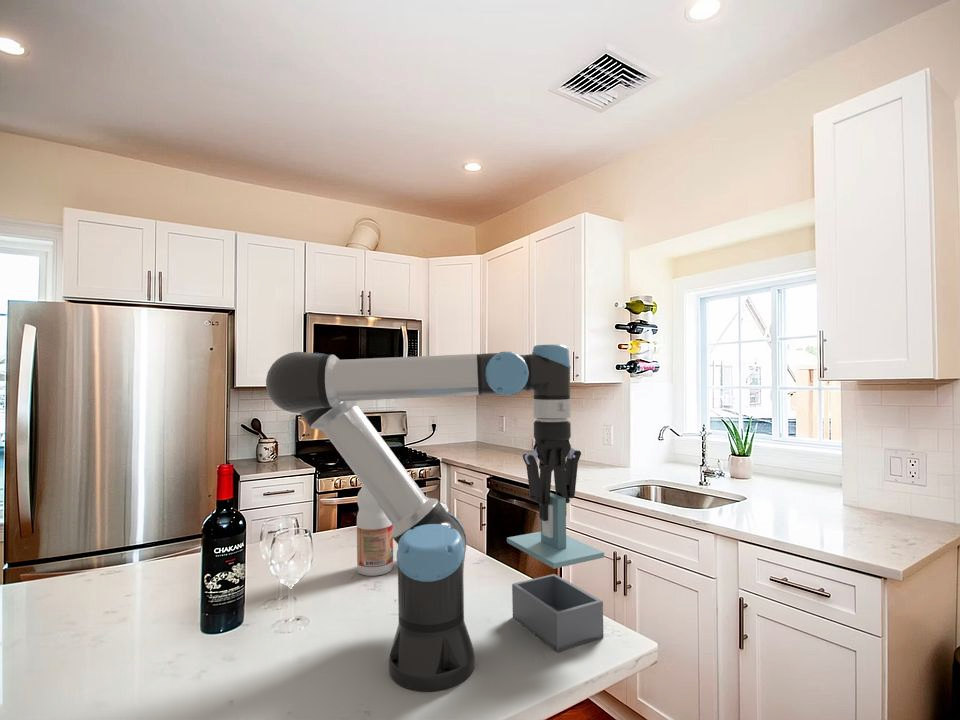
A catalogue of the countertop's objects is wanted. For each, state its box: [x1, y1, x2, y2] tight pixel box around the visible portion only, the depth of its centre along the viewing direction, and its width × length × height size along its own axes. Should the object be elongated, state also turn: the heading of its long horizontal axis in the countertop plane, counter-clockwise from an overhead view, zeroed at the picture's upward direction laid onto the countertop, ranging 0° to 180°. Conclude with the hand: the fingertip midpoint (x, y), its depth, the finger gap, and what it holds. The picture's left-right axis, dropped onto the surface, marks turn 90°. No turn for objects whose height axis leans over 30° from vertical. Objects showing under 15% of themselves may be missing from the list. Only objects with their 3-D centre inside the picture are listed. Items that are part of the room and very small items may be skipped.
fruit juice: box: [356, 484, 394, 577], centre depth 139 cm, size 9×9×28 cm
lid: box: [506, 492, 605, 570], centre depth 107 cm, size 17×12×11 cm
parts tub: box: [511, 573, 604, 653], centre depth 106 cm, size 16×11×7 cm
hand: (553, 534), depth 107 cm, fingers closed on lid, 2 cm apart
